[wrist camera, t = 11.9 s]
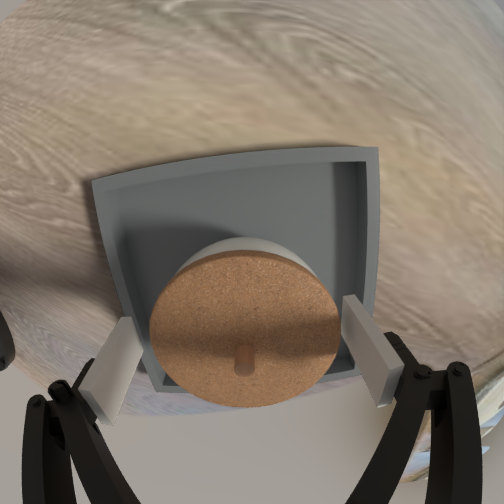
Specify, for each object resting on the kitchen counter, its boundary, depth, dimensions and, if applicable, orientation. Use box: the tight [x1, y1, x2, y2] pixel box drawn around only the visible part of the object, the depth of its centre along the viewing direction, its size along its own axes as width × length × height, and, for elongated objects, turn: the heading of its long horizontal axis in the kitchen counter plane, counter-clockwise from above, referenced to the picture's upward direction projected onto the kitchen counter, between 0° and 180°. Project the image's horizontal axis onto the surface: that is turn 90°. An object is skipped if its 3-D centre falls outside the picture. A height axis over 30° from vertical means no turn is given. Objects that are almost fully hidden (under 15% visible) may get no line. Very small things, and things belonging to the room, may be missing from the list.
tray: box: [91, 147, 380, 393], centre depth 21 cm, size 20×20×2 cm
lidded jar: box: [149, 237, 341, 408], centre depth 17 cm, size 11×11×9 cm
